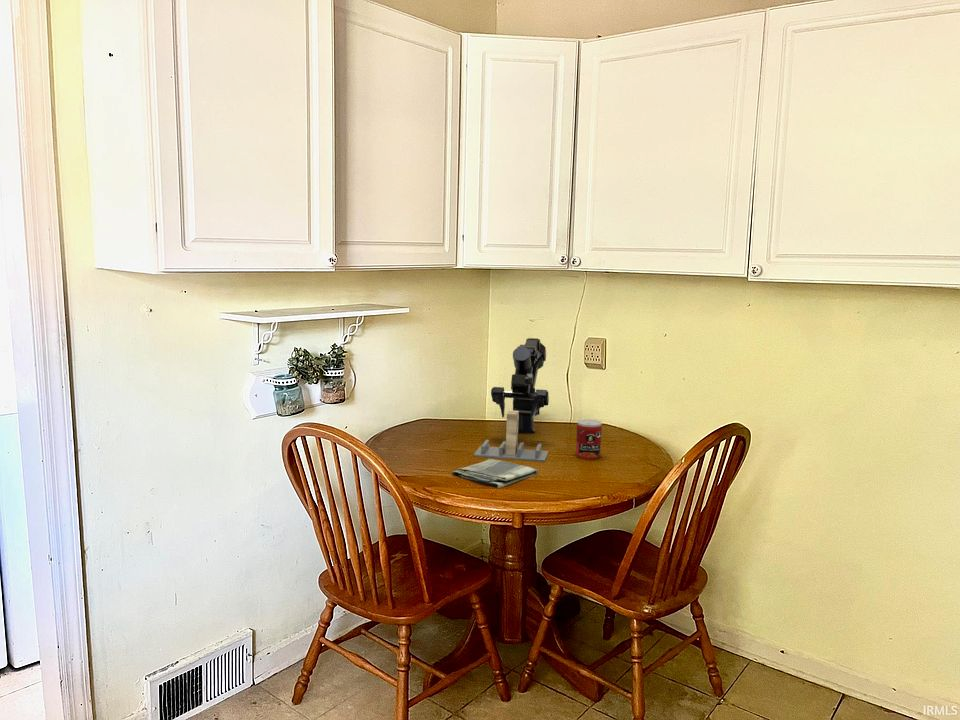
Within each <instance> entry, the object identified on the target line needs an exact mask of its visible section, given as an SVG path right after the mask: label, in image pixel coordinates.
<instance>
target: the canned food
mask: <svg viewBox="0 0 960 720" xmlns="http://www.w3.org/2000/svg"><path fill="white" fill-rule="evenodd" d="M602 429H603V423H602V422H601V420H598V419H592V418H591V419H590V418H587V419H586V418H584V419H578V420H577V423H576V441H575V444H576V445H575V454H576V457H578V458H579V459H582V460H597V459H599V458H600V457H601V450H602V449H601V447H602V433H603V432H602Z"/></svg>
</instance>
